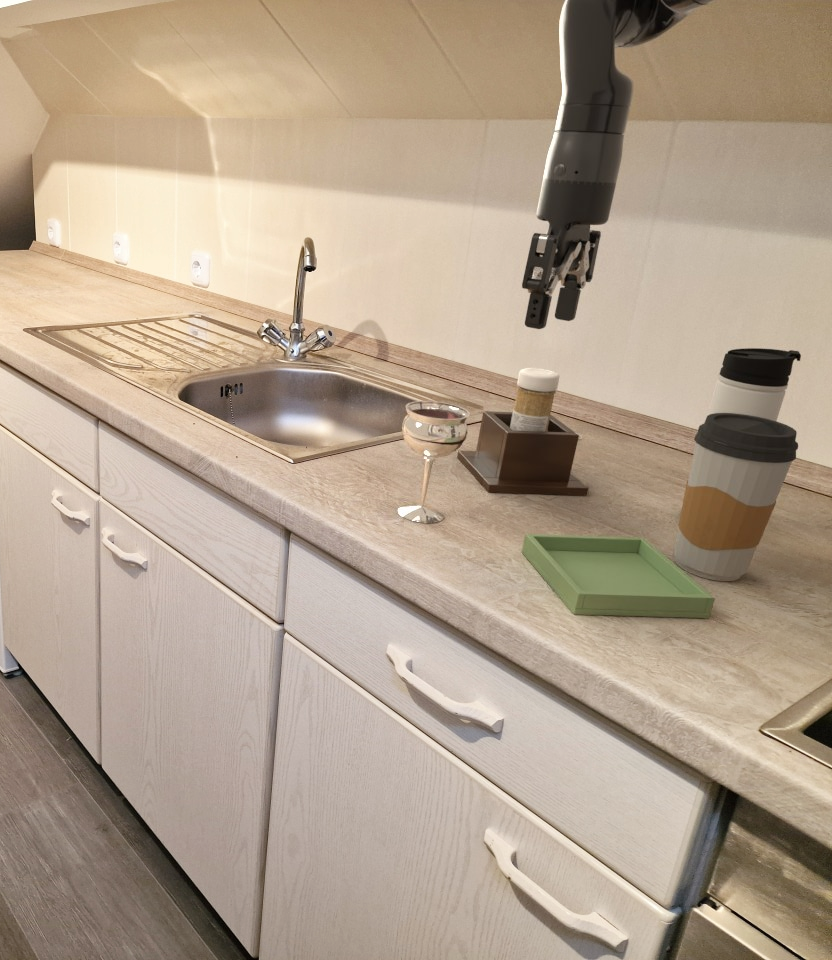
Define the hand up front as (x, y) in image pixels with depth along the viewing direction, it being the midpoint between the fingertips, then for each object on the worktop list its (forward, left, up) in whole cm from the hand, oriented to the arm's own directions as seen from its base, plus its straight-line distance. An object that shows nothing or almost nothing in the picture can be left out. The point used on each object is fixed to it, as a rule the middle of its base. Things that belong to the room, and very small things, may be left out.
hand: (549, 323), depth 100 cm
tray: (+2, +28, -19) cm, 34 cm away
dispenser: (0, 0, -19) cm, 19 cm away
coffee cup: (-10, +24, -19) cm, 32 cm away
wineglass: (+16, +13, -19) cm, 28 cm away
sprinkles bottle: (0, 0, -19) cm, 19 cm away
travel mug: (-17, +13, -19) cm, 29 cm away
